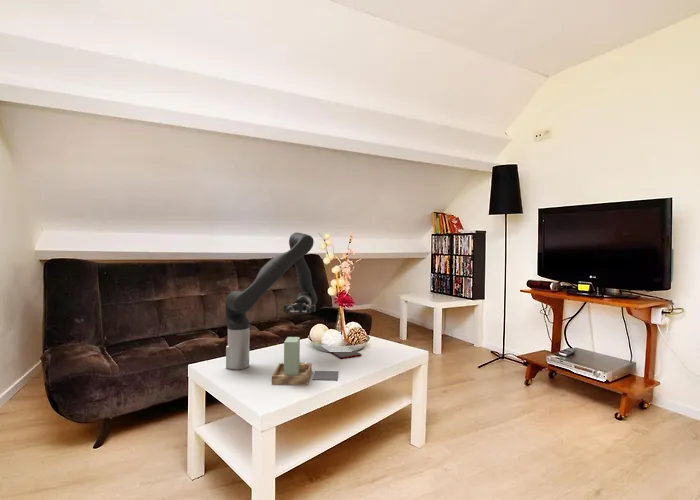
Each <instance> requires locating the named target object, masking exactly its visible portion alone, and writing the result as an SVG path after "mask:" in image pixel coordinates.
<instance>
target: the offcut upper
mask: <svg viewBox="0 0 700 500" xmlns="http://www.w3.org/2000/svg"><path fill="white" fill-rule="evenodd" d="M305 364H306V362H300V365H299V369H304V367H305Z"/></svg>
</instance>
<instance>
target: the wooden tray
mask: <svg viewBox="0 0 700 500" xmlns="http://www.w3.org/2000/svg"><path fill="white" fill-rule="evenodd" d="M305 366H306V369H305V372H299V375H298V376H287V375H284V372H283V368H284V362H283V363H282V362H281V363H278V365H277V366H276V368H275V370H274V371H273V373H272V375H271V385H300V386H301V385H305V386H308V383H309V380H310V378H311V375H312V372H313V371H312V370H313V369H312V368H313V365H312V363H305Z"/></svg>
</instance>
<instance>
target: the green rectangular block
mask: <svg viewBox="0 0 700 500" xmlns="http://www.w3.org/2000/svg"><path fill="white" fill-rule="evenodd" d="M300 339H301V337H299V336H287V337H286V338H285V340H284V342H283V363H284V375H287V376H298V375H299V365H300V363H301V362H300V359H301V358H300V352H301V351H300V349H301V348H300V347H301V346H300V345H301V344H300V341H301V340H300Z"/></svg>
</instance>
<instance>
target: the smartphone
mask: <svg viewBox="0 0 700 500" xmlns="http://www.w3.org/2000/svg"><path fill="white" fill-rule="evenodd" d="M330 354H331V355H333V356H335V357H336V358H338V359H339V360H346V359H354V358H360V357H362V355H363V354H362V353H360V352H359V351H356V350H355V351H352V352H331V353H330Z"/></svg>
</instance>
